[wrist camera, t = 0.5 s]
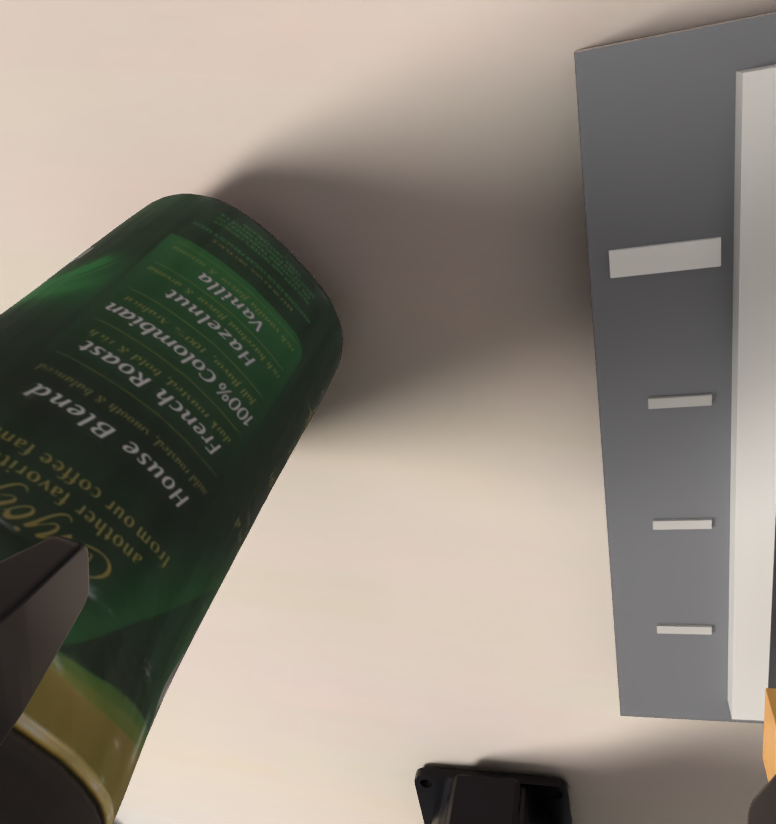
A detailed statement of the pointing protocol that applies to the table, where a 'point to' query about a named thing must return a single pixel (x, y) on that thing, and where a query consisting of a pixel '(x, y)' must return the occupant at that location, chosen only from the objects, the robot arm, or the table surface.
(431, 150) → the table surface
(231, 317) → the coffee jar
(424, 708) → the table surface
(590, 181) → the console
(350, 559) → the table surface
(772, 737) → the fader
